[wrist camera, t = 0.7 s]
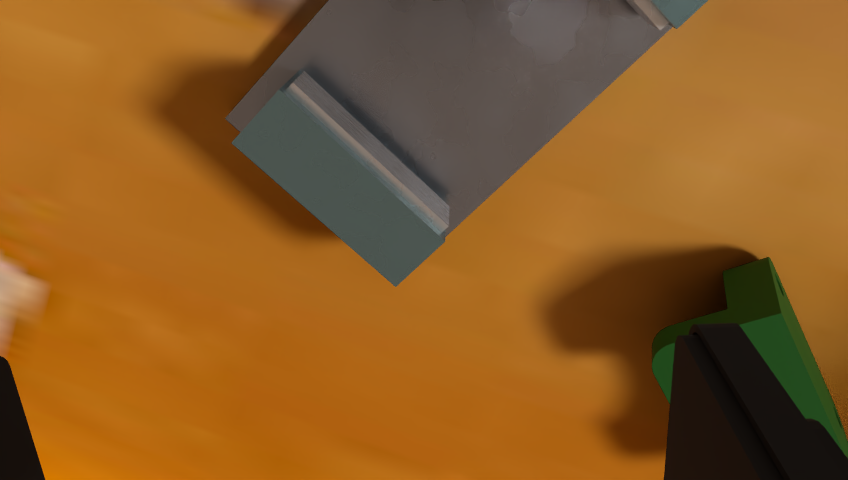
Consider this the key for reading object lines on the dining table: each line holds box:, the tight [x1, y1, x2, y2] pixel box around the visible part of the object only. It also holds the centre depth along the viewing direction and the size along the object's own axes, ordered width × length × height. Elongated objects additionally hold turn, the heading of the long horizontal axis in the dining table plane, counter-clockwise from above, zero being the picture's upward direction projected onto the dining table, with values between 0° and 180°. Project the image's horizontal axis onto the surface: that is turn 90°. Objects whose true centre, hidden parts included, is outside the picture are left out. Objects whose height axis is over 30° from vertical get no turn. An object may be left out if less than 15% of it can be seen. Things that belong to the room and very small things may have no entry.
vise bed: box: [225, 0, 672, 287], centre depth 31 cm, size 20×11×5 cm, turn 136°
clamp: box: [652, 257, 848, 458], centre depth 37 cm, size 12×6×9 cm, turn 23°
